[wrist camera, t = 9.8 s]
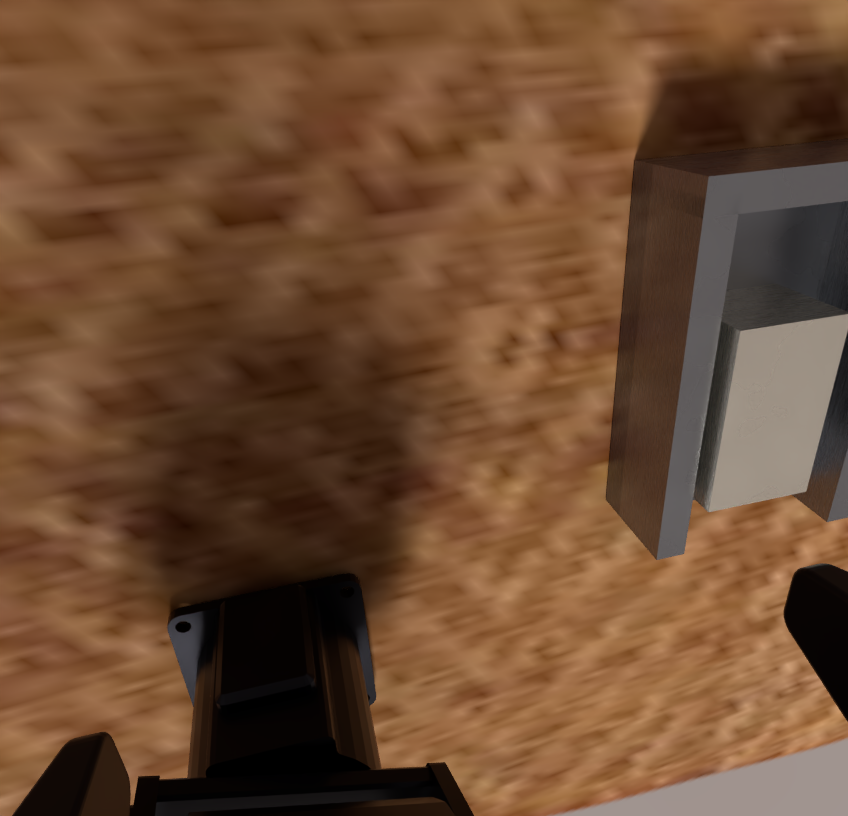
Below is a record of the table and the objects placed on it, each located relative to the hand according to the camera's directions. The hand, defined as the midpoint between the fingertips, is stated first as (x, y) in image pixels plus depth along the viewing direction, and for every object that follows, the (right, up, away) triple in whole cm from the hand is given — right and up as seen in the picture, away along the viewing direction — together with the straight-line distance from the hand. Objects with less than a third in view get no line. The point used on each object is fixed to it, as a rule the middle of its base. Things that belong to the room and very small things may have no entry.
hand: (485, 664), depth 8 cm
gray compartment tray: (+13, +6, +15) cm, 20 cm away
